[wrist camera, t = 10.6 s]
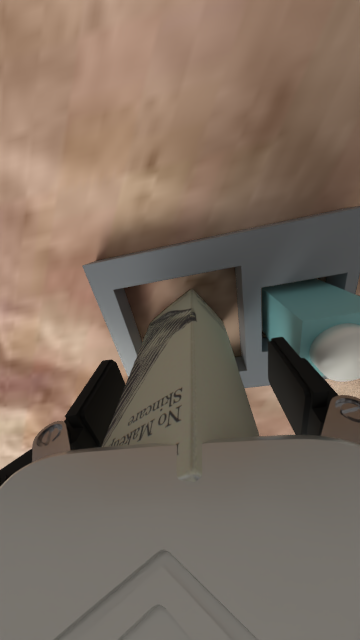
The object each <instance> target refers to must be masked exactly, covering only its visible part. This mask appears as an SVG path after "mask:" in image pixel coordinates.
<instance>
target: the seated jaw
mask: <svg viewBox="0 0 360 640" xmlns="http://www.w3.org/2000/svg"><path fill="white" fill-rule="evenodd" d="M262 329H263V332H264V333H265V335H266V336H267V338H268V339H269V340H270V341H271V339H272V338H276V337H283V338H284V339H285V340H286V341H287V342H288V343H289V345H290V346H291V347H292V348H293V349H294V350H295V352H296V353H297V354H298V355H299V356H300V357H301V358H305V359H306V360H308V362H309V363H310V364H311V365H312V366H313V367H314V368H315V370H316V371H317V372H318V373H319V374H320V375H321V376H326V377H327V378H329V379H331V380H334V381H341V382H344V381H352V380H356V379H359V378H360V296H358V295H355V294H353V293H350V292H348V291H346V290H343V289H341V288H338V287H336V286H333V285H331V284H328V283H326V282H323V281H321V280H318V279H316V278H314V279H308V280H303V281H297V282H291V283H286V284H280V285H274V286H269V287H263V288H262Z"/></svg>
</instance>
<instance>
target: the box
mask: <svg viewBox="0 0 360 640" xmlns="http://www.w3.org/2000/svg"><path fill="white" fill-rule="evenodd" d="M255 436H259V433H258V430H257V427H256V424H255V420H254V417H253V414H252V411H251V408H250V405H249V402H248V398H247V395H246V392H245V389H244V386H243V383H242V379H241V376H240V374H239V370H238V367H237V364H236V360H235V357H234V354H233V351H232V348H231V345H230V341H229V338H228V335H227V332H226V329H225V326H224V324H223V322H222V320H221V319H220V318H219V317H218V316H217V315H216V314H215V312H214V311H213V310H212V309H211V308H210V307H209V306H208V305H207V304H206V302H205V301H204V300H203V299H202V298H201V297H200V296H199V295H198V294H197V293H196V292H195V291H194V290H193V289H191V290H189V291H188V292H187V293H185V294H184V295H183V296H182V297H180V298H179V299H178V300H176V301H175V302H174V303H173V304H171V305H170V306H169V307H168V308H166V309H165V310H164V311H163V312H162V313H161V314H159V315H158V316H157V317H156V318H155V319H154V320H153V321H152V322H151V323H150V325H149V327H148V330H147V332H146V335H145V337H144V340H143V343H142V345H141V347H140V350H139V352H138V355H137V358H136V360H135V362H134V365H133V368H132V370H131V373H130V375H129V378H128V380H127V383H126V386H125V388H124V390H123V393H122V396H121V398H120V401H119V403H118V406H117V409H116V411H115V414H114V416H113V419H112V421H111V424H110V426H109V429H108V431H107V434H106V436H105V439H104V442H103V444H102V446H101V447H109V446H123V445H136V444H149V443H159V444H169V445H177V465H176V473H177V478H178V479H180V480H184V481H188V482H195V481H197V480H198V479H199V478H201V476H202V443H204V442H207V441H209V440H212V439H223V438H239V437H255Z"/></svg>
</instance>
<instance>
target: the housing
mask: <svg viewBox="0 0 360 640" xmlns="http://www.w3.org/2000/svg"><path fill="white" fill-rule="evenodd" d="M231 267H235V274H236V289H237V303H238V317H239V331H240V345H241V357H235V360H236V364H237V367H238V370H239V374H240V376H241V379H242V383H243V386H244V388H250V387H259V386H268V385H270V383H269V380H268V341H270V340H269V339H268V338H267V337H266V338H262V319H261V288H262V287H268V286H273V285H279V284H285V283H291V282H297V281H302V280H308V279H314V278H320V277H325V276H326V283H328V284H331V285H333V286H336V287H338V288H341V289H343V290H346V291H348V292H350V293H353V294H355V293H356V288H357V284H358V279H359V274H360V206H358V207H350V208H344V209H339V210H335V211H330V212H325V213H320V214H316V215H311V216H306V217H301V218H297V219H292V220H287V221H282V222H278V223H273V224H268V225H264V226H259V227H254V228H249V229H245V230H240V231H235V232H230V233H226V234H221V235H216V236H211V237H207V238H202V239H197V240H193V241H188V242H183V243H178V244H174V245H169V246H164V247H159V248H155V249H150V250H145V251H140V252H136V253H131V254H126V255H122V256H117V257H112V258H107V259H103V260H98V261H94V262H91V263H89V264H86V265H83V269H84V271H85V273H86V276H87V278H88V281H89V283H90V286H91V288H92V290H93V293H94V295H95V298H96V300H97V303H98V305H99V307H100V310H101V312H102V315H103V317H104V320H105V322H106V324H107V327H108V329H109V332H110V334H111V336H112V339H113V341H114V344H115V346H116V349H117V351H118V353H119V356H120V358H121V361H122V363H123V366H124V368H125V370H126V373H127V375H128V378H129V375H130V373H131V370H132V368H133V365H134V362H135V360H136V358H137V355H138V352H139V350H140V347H141V345H142V341H141V338H140V335H139V332H138V329H137V326H136V323H135V320H134V317H133V314H132V311H131V308H130V305H129V302H128V299H127V296H126V293H125V290H124V288H125V287H131V286H136V285H141V284H147V283H152V282H157V281H162V280H168V279H173V278H178V277H184V276H189V275H194V274H199V273H205V272H210V271H215V270H221V269H226V268H231ZM322 377H323V379H329V378H327V377H326V376H322Z"/></svg>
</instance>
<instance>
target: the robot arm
mask: <svg viewBox="0 0 360 640" xmlns="http://www.w3.org/2000/svg"><path fill="white" fill-rule="evenodd" d="M268 380H269V383H270V385H271V387H272V389H273V391H274V393H275V395H276V397H277V399H278V401H279V403H280V405H281V407H282V409H283V411H284V413H285V415H286V417H287V419H288V421H289V423H290V424H291V426H292V428H293V430H294V432H295V434H296V435H277V436H255V437H239V438H223V439H212V440H209V441H207V442H204V443H202V476H201V478H199V479H198V480H197V481H195V482H188V481H184V480H180V479H178V478H177V473H176V465H177V445H169V444H159V443H149V444H136V445H123V446H109V447H101V446H102V444H103V442H104V439H105V436H106V434H107V431H108V429H109V426H110V424H111V421H112V419H113V416H114V414H115V411H116V409H117V406H118V403H119V401H120V398H121V396H122V393H123V390H124V388H125V386H126V385H125V382H124V380H123V377H122V375H121V373H120V370H119V368H118V366H117V363H116V362H115V361H113V360H105V361H102V362H101V364H100V365H99V366H98V368H97V369H96V371H95V372H94V374H93V375H92V377H91V378H90V380H89V381H88V383H87V384H86V386H85V387H84V389H83V390H82V392H81V393H80V395H79V396H78V398H77V399H76V401H75V402H74V404H73V405H72V406H71V408H70V409H69V411H68V412H67V414H66V415H65V417H66V420H65V421H64V422H63V421H57V422H53V423H51V424H49V425H48V426H46V427H45V428H44V429H43V430H41V431H40V432H39V434H38V435H37V436H36V437H35V439H34V441H33V446H32V449H31V450H29V451H28V452H26V453H25V454H23V455H22V456H20V457H19V458H17V459H16V460H14V461H13V462H11V463H10V464H8V465H7V466H5V467H4V468H3V469H1V470H0V640H360V399H359V398H356V397H353V396H348V395H339V396H338V394H337V393H336V392H335V391H334V390H333V389H332V388H331V386H330V385H329V384H328V383H327V382H326V381H325V380H324V379H323V377H322V376H321V375H320V374H319V373H318V372H317V371H316V370H315V368H314V367H313V366H312V365H311V364H310V363H309V362H308V360H306V359H305V358H301V357H300V356H299V355H298V354H297V353H296V352H295V350H294V349H293V348H292V347H291V346H290V345H289V343H288V342H287V341H286V340H285V339H284V338H283V337H276V338H272V339H271V341H268Z"/></svg>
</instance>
